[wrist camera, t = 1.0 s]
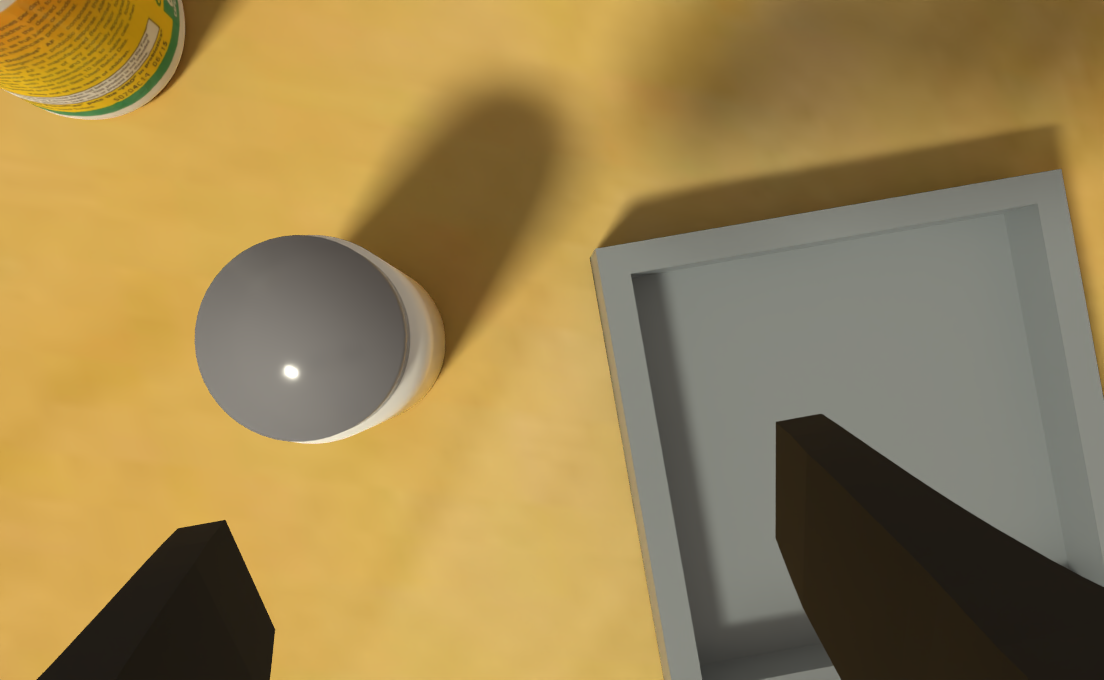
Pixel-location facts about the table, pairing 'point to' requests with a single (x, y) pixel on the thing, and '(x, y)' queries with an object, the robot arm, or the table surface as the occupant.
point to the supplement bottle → (89, 53)
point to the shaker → (316, 339)
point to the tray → (847, 393)
